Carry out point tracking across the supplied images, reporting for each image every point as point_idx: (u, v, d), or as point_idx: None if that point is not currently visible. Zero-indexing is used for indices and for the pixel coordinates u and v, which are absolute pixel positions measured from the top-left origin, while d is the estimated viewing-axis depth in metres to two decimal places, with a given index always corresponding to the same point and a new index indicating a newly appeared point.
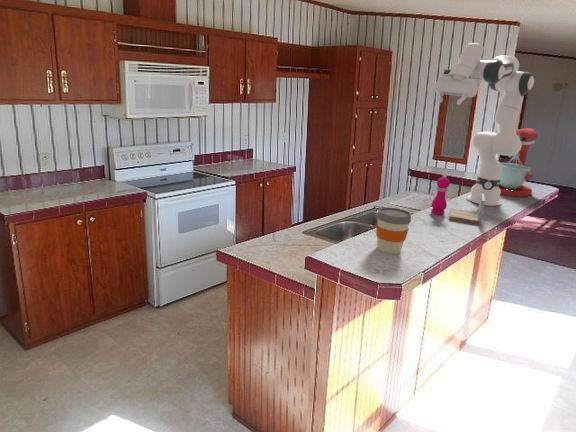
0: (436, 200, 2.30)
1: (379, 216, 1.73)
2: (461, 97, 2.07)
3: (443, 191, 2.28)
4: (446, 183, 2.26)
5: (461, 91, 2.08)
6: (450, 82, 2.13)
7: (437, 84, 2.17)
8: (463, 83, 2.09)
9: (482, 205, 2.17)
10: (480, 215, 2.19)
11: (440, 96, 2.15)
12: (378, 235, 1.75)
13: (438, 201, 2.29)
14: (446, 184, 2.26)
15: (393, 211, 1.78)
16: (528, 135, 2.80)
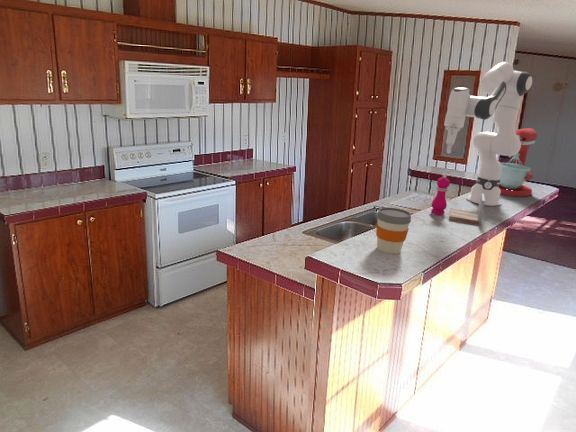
0: (436, 200, 2.30)
1: (379, 216, 1.73)
2: (447, 147, 2.18)
3: (443, 191, 2.28)
4: (446, 183, 2.26)
5: None
6: None
7: None
8: None
9: (482, 205, 2.17)
10: (480, 215, 2.19)
11: None
12: (378, 235, 1.75)
13: (438, 201, 2.29)
14: (446, 184, 2.26)
15: (393, 211, 1.78)
16: (528, 135, 2.80)
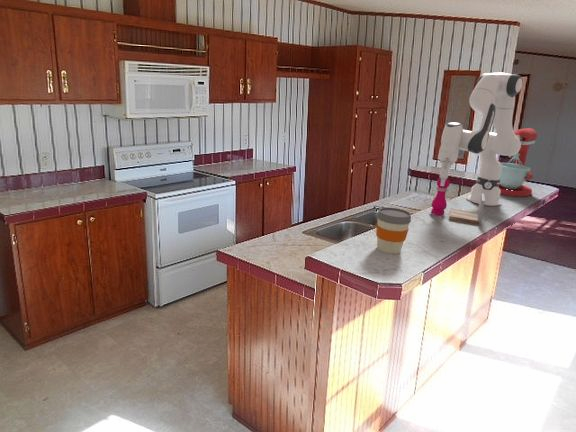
0: (436, 200, 2.30)
1: (379, 216, 1.73)
2: None
3: (443, 191, 2.28)
4: (446, 183, 2.26)
5: None
6: None
7: None
8: None
9: (482, 205, 2.17)
10: (480, 215, 2.19)
11: None
12: (378, 235, 1.75)
13: (438, 201, 2.29)
14: (446, 184, 2.26)
15: (393, 211, 1.78)
16: (528, 135, 2.80)
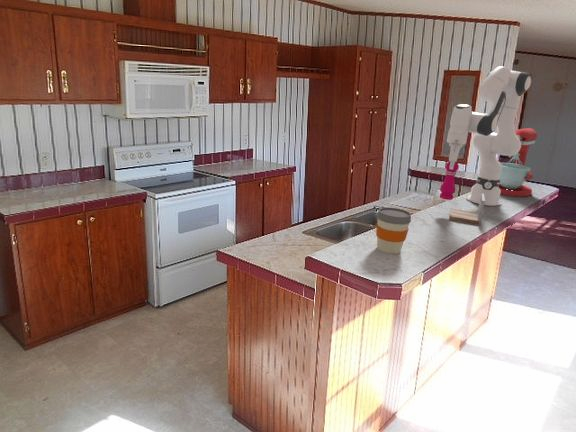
0: (445, 184, 2.26)
1: (379, 216, 1.73)
2: (450, 163, 2.21)
3: (452, 175, 2.24)
4: (455, 166, 2.22)
5: None
6: None
7: None
8: None
9: (482, 205, 2.17)
10: (480, 215, 2.19)
11: None
12: (378, 235, 1.75)
13: (446, 185, 2.26)
14: (455, 168, 2.23)
15: (393, 211, 1.78)
16: (528, 135, 2.80)
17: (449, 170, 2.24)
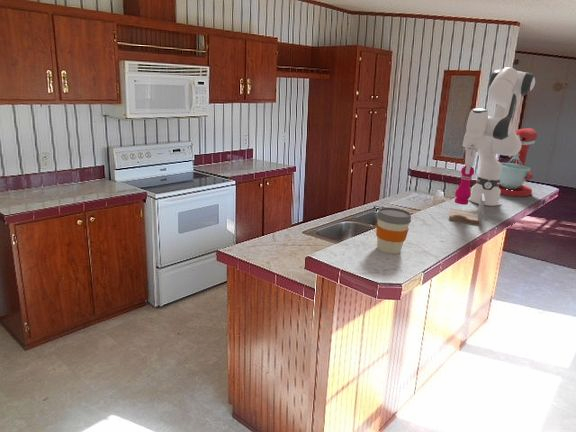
0: (460, 189, 2.24)
1: (379, 216, 1.73)
2: None
3: (468, 180, 2.22)
4: (471, 171, 2.20)
5: None
6: None
7: None
8: None
9: (482, 205, 2.17)
10: (480, 215, 2.19)
11: None
12: (378, 235, 1.75)
13: (462, 190, 2.24)
14: (471, 172, 2.21)
15: (393, 211, 1.78)
16: (528, 135, 2.80)
17: (465, 175, 2.22)
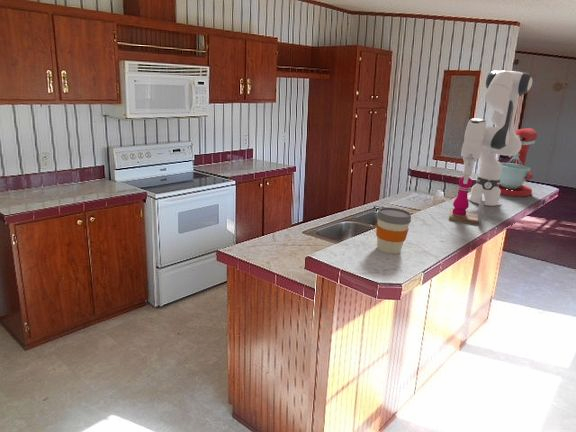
0: (458, 199, 2.26)
1: (379, 216, 1.73)
2: None
3: (465, 190, 2.24)
4: (469, 182, 2.22)
5: None
6: None
7: (464, 163, 2.31)
8: None
9: (482, 205, 2.17)
10: (480, 215, 2.19)
11: None
12: (378, 235, 1.75)
13: (460, 201, 2.25)
14: (468, 183, 2.22)
15: (393, 211, 1.78)
16: (528, 135, 2.80)
17: (462, 186, 2.24)
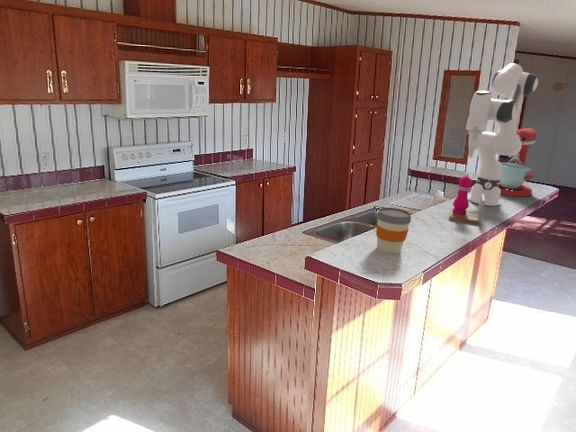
0: (458, 199, 2.26)
1: (379, 216, 1.73)
2: (469, 151, 2.16)
3: (465, 190, 2.24)
4: (469, 182, 2.22)
5: None
6: None
7: (469, 137, 2.27)
8: None
9: (482, 205, 2.17)
10: (480, 215, 2.19)
11: (469, 149, 2.25)
12: (378, 235, 1.75)
13: (460, 201, 2.25)
14: (468, 183, 2.22)
15: (393, 211, 1.78)
16: (528, 135, 2.80)
17: (462, 186, 2.24)
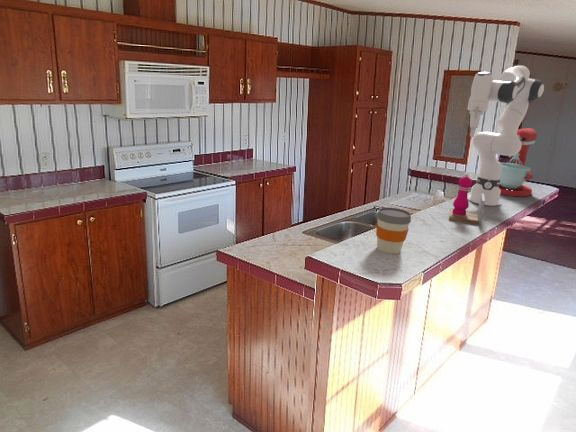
0: (458, 199, 2.26)
1: (379, 216, 1.73)
2: None
3: (465, 190, 2.24)
4: (469, 182, 2.22)
5: None
6: (472, 116, 2.28)
7: (470, 118, 2.34)
8: None
9: (482, 205, 2.17)
10: (480, 215, 2.19)
11: None
12: (378, 235, 1.75)
13: (460, 201, 2.25)
14: (468, 183, 2.22)
15: (393, 211, 1.78)
16: (528, 135, 2.80)
17: (462, 186, 2.24)
